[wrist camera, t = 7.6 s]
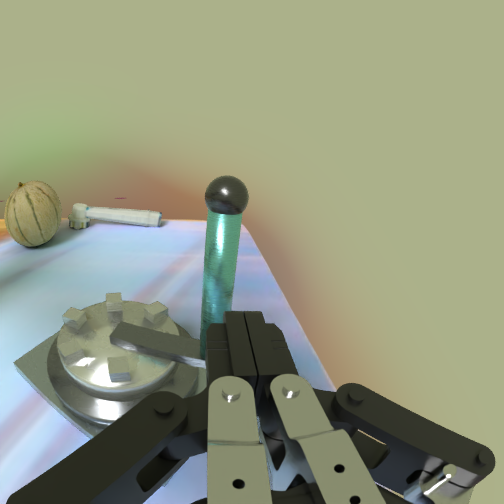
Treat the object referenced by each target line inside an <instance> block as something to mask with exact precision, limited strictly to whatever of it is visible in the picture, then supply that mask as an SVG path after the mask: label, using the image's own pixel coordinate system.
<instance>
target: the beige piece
mask: <svg viewBox="0 0 504 504" xmlns="http://www.w3.org/2000/svg"><path fill="white" fill-rule="evenodd" d="M161 216H162V213H161V212H154V211H149V210H148V211H146V210H133V209H118V208H104V207H88V206H87V205H85V204H75V205H74V206H73V209H72V214H69V216H68V219H69V220H70V221H69V226H70V227H74V228H75V229H80V228H84V229H85V228H87V227H89V221H90V220H91V219H97V220H105V221H112V222H120V223H127V224H135V225H142V226H146V227H147V226H149V227H160V223H161Z"/></svg>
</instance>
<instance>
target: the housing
mask: <svg viewBox="0 0 504 504" xmlns="http://www.w3.org/2000/svg"><path fill="white" fill-rule="evenodd" d="M104 302H106V301H104ZM174 323H175V322H174ZM175 325H176V327H177V329H178V332H179V336H183V337H187V338H191V337H190V335H189V334H188V333H187V332H186V331H185V330H184V329H183V328H182V327H181V326H179V325H178V324H176V323H175ZM59 332H60V331H58V332H57V333H56V334H54V335H53V336H51V337H50V338H48V339H47V340H45V341H44V342H42V343H41V344H39V345H38V346H36V347H35V348H33V349H32V350H31V351H29V352H28V353H26V354H25V355H23V356H22V357H21V358H19V359H18V360H16V361H15V362H13V363H14V365H15V367H16V369H17V371H18V372H19V373H20V375H21V376H22V377H23V378H24V379H25V380H26V381H27V382H28V383H29V384H30V385H31V386H32V387H33V388H34V389H35V390H36V391H37V392H38V393H39V394H40V395H41V396H42V397H43V398H44V399H45V400H46V401H47V402H48V403H49V404H50V405H51V406H52V407H53V408H54V409H55V410H57V411H58V412H59V413H60V414H61V415H62V416H63V417H64V418H66V419H67V420H68V421H69V422H70V423H71V424H73V425H74V426H75V427H76V428H77V429H79V430H80V431H81V432H82V433H84V434H85V435H86V436H87V437H89V438H90V439H92V438H93V437H95V436H96V435H97V434H99V433H100V432H101V431H103V430H104V429H105V428H107V427H108V426H109V425H111V424H112V423H113V422H114V421H116V420H117V419H118V418H120V417H121V416H122V415H124V414H125V413H126V412H127V411H129V410H130V409H131V408H133V407H134V406H135V405H136V404H138V403H139V402H140V401H141V400H143V399H144V398H145V397H144V398H141V399H137V400H132V401H124V402H114V401H106V400H101V399H97V398H94V397H92V396H89V395H87V394H85V393H84V392H82V391H81V390H79V389H78V388H77V387H76V386H75V385H74V384H73V383H72V382H71V381H70V380H69V378H68V376H67V375H66V372H65V370H64V367H63V364H62V362H61V359H60V356H59V353H58V349H57V339H58V335H59ZM192 339H193V338H192ZM206 387H207V383H206V369H205V368H200V367H196V366H191V365H187V364H183V363H179V366H178V369H177V371H176V373H175V375H174V376H173V378H172V379H171V380H170V381H169V382H168V383H167V384H166V385H165V386H164V387H163V388H161V389H160V390H159V391H169V392H173V393H175V394H177V395H179V396H180V397H182V398H187V397H191V396H195V395H197V394H199V393H201V392H202V391H203V390H204V389H205V388H206ZM157 392H158V391H157ZM172 476H173V475H172ZM172 476H171V477H172ZM171 477H170V478H169V479H168V480H167V481H166V482H165V483H164V484H163V485H162V486H164V487H165V485H166V484H167V483H168V481H169V480H170V479H171Z"/></svg>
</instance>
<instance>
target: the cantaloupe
mask: <svg viewBox="0 0 504 504" xmlns="http://www.w3.org/2000/svg"><path fill="white" fill-rule="evenodd" d="M18 185H19V187H18V188H17V189H15V190H14V191H13V192H12V193H11V195H10V196H9V198H8V200H7V203H6V206H5V224H6V227H7V230H8V232H9V234H10V235H11V237H12V238H13V239H14V240H15V241H16V242H17V243H19V244H21V245H24V246H29V247H30V246H37V245H41V244H43V243H45V242H47V241H49V240H50V239H51V238H52V237H53V236H54V234H55V233H56V231H57V230H58V227H59V225H60V222H61V215H62V208H61V203H60V200H59V198H58V196H57V194H56V192H55V191H54V190H53V189H52V188H51V187H50V186H49V185H48V184H46V183H44V182H42V181H30V182H27V183H25V184H22V183H21V182H19V184H18Z"/></svg>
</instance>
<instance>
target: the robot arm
mask: <svg viewBox="0 0 504 504" xmlns="http://www.w3.org/2000/svg"><path fill="white" fill-rule="evenodd" d="M205 365H206V383H207V387H206V388H205V389H204V390H203V391H202V392H201V393H199V394H197V395H195V396H191V397H187V398H182V397H180V396H179V395H177V394H175V393H173V392H169V391H158V392H154V393H151V394H149V395H148V396H146V397H145V398H144V399H143V400H141V401H140V402H139V403H138V404H136V405H135V406H134V407H133V408H131V409H130V410H129V411H127V412H126V413H125V414H124V415H122V416H121V417H120V418H118V419H117V420H116V421H114V422H113V423H112V424H111V425H109V426H108V427H107V428H105V429H104V430H103V431H101V432H100V433H99V434H97V435H96V436H95V437H93V438H92V439H91V440H89V441H88V442H87V443H85V444H84V445H82V446H81V447H80V448H78V449H77V450H76V451H74V452H73V453H71V454H70V455H69V456H67V457H66V458H64V459H63V460H62V461H60V462H59V463H57V464H56V465H55V466H53V467H52V468H50V469H49V470H47V471H46V472H45V473H43V474H42V475H40V476H39V477H37V478H36V479H34V480H33V481H31V482H30V483H28V484H27V485H25V486H24V487H22V488H21V489H19V490H18V491H16V492H15V493H13V494H12V495H11V496H10V497H9V498H8V500H7V503H6V504H143V503H144V502H145V501H146V500H147V499H148V498H149V497H150V496H151V495H152V494H153V493H154V492H156V491H157V490H158V489H159V488H160V487H161V486H162V485H163V484H164V483H165V482H166V481H167V480H168V479H169V478H170V477H171V476H172V475H173V474H174V473H175V472H176V471H177V470H178V469H179V468H180V467H181V466H182V465H183V464H184V463H185V462H186V461H187V460H188V458H189V457H191V456H194V455H198V454H201V453H205V452H207V498H203V499H200V500H198V501H195V502H193V503H191V504H468V503H469V500H470V497H471V494H472V491H473V488H474V486H475V485H476V484H477V483H479V482H480V481H481V480H483V479H484V478H485V477H486V476H487V475H489V474H490V473H491V472H492V471H493V469H494V467H495V457H494V454H493V453H492V451H491V450H490V449H489V448H488V447H486V446H484V445H482V444H480V443H477V442H475V441H473V440H470V439H468V438H466V437H464V436H461V435H459V434H457V433H455V432H453V431H451V430H449V429H446V428H444V427H442V426H440V425H438V424H436V423H434V422H432V421H430V420H427V419H426V418H424V417H422V416H420V415H418V414H416V413H414V412H412V411H410V410H408V409H406V408H404V407H402V406H400V405H398V404H396V403H394V402H392V401H390V400H388V399H386V398H385V397H383V396H381V395H379V394H377V393H375V392H374V391H372V390H370V389H368V388H366V387H364V386H362V385H360V384H356V383H348V384H344V385H342V386H341V387H339V389H338V390H337V392H331V391H323V390H318V389H314V388H312V387H311V385H310V384H309V382H308V381H307V380H305V379H304V378H302V377H300V376H299V375H298V372H297V369H296V367H295V364H294V362H293V359H292V356H291V354H290V351H289V349H288V346H287V343H286V342H285V338H284V335H283V333H282V331H281V330H280V329H279V328H278V327H277V326H276V325H275V324H274V323H272V324H266V323H265V320H264V317H263V314H262V312H261V311H243V312H242V311H224V313H223V323H211V324H210V326H209V327H208V329H207V331H206V349H205ZM256 416H259V419H260V427H259V434H258V426H257V417H256ZM358 429H359V430H361V431H363V432H365V433H366V434H368V435H370V436H372V437H374V438H375V439H377V440H379V441H381V442H383V443H385V444H386V445H384V444H381V443H379V442H377V441H376V440H374V439H372V438H370V437H368V436H366V435H365V434H363V433H361V432H359V431H358ZM259 436H260V439H261V442H262V443H260V440H259ZM266 458H267V461H268V464H269V467H270V470H271V473H272V487H273V490H270V483H269V476H268V469H267V461H266ZM374 481H375V482H377V483H379V484H381V485H383V486H385V487H387V488H389V489H391V490H393V491H395V492H397V493H399V494H401V495H403V496H404V499H403V498H401V497H399V496H398V495H396V494H394V493H392V492H390V491H388V490H386V489H385V488H383V487H381V486H379V485H377V484H375V482H374Z"/></svg>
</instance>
